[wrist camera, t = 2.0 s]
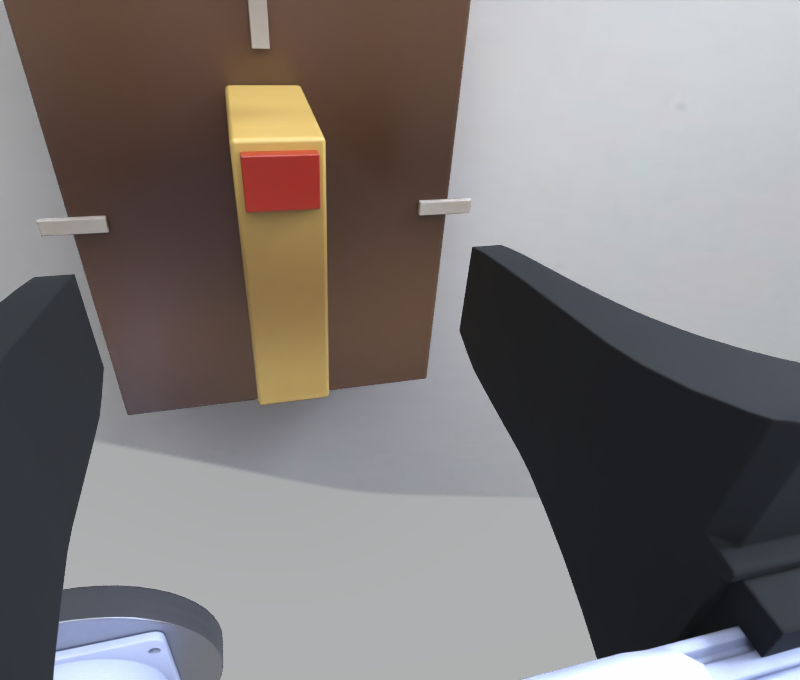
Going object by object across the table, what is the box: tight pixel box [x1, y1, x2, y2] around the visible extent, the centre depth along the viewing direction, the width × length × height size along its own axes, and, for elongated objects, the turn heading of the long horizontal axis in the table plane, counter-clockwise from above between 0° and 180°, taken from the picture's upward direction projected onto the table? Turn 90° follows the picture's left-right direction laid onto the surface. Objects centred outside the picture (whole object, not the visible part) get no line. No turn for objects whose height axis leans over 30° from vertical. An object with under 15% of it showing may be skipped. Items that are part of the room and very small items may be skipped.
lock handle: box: [225, 85, 329, 405], centre depth 13 cm, size 6×2×4 cm, turn 176°
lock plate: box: [3, 0, 471, 415], centre depth 15 cm, size 12×10×3 cm
